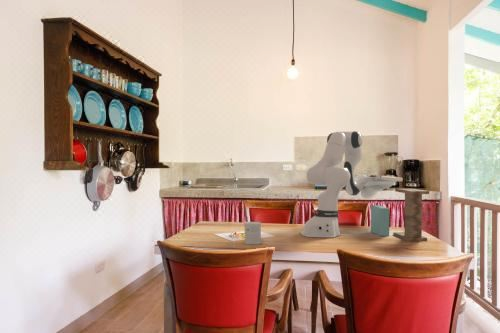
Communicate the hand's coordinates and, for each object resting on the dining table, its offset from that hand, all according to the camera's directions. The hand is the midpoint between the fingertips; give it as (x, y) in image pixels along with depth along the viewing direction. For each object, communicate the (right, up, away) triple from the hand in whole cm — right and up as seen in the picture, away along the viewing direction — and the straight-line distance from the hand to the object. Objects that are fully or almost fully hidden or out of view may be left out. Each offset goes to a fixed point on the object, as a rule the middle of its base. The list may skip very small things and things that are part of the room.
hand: (384, 175), depth 206 cm
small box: (-84, -34, -39) cm, 98 cm away
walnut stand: (+3, -33, -28) cm, 44 cm away
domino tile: (+1, -2, -6) cm, 7 cm away
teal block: (-9, -33, -17) cm, 38 cm away
